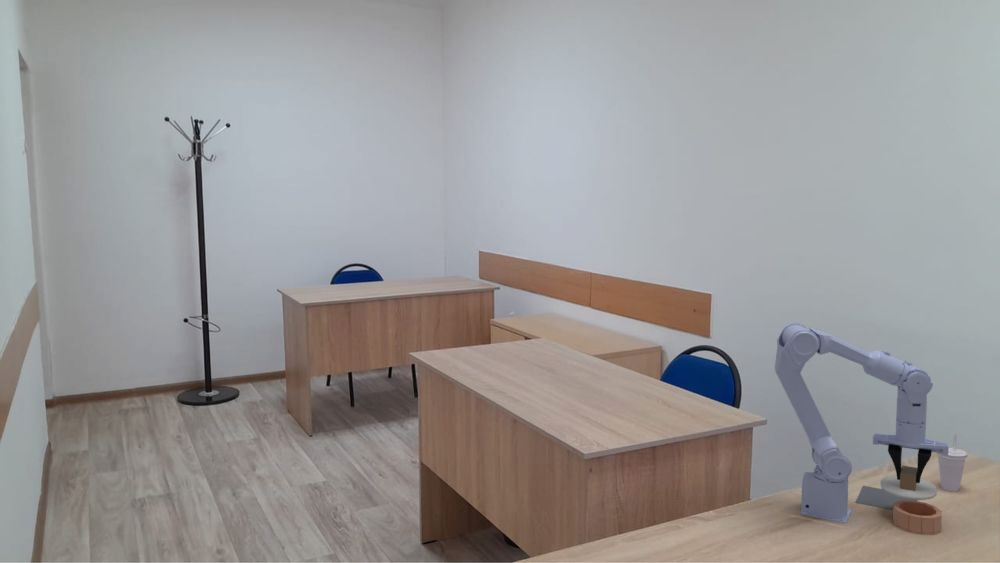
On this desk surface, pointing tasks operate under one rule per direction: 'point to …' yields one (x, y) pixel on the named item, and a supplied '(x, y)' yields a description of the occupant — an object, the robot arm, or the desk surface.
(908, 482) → the lid
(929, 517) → the bowl
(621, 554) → the desk surface
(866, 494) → the mat
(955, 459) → the smoothie
